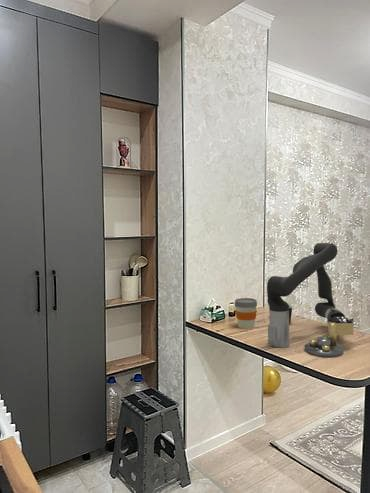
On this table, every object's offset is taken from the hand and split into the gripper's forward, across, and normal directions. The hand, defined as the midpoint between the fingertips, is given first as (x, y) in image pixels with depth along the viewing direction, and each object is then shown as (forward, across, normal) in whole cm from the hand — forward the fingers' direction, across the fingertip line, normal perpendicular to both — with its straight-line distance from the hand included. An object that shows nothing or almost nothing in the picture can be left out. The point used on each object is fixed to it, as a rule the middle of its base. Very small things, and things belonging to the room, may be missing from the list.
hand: (346, 326), depth 180 cm
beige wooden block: (0, -3, +9) cm, 9 cm away
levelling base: (+2, -11, +10) cm, 15 cm away
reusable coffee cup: (-38, -43, +11) cm, 58 cm away
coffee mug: (-44, -20, +11) cm, 50 cm away
